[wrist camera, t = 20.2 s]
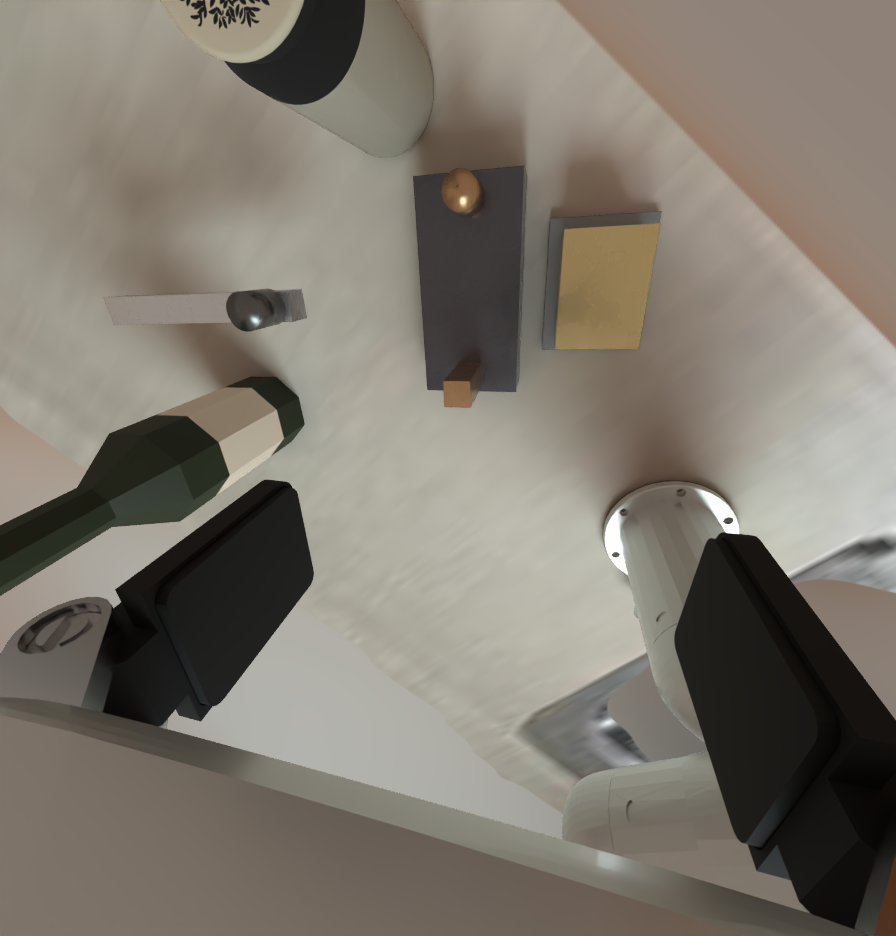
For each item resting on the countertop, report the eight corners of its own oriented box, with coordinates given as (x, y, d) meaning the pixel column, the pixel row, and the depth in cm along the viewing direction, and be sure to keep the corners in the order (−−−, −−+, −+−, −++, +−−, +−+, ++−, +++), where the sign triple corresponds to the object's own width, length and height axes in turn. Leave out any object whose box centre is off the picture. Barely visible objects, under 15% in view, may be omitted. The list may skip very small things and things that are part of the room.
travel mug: (424, 167, 32) (310, 84, 17) (333, 147, 33) (141, 49, 17) (444, 31, 28) (317, -246, 13) (339, 11, 29) (99, -274, 13)
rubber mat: (636, 347, 35) (638, 349, 34) (542, 347, 37) (542, 349, 36) (659, 212, 30) (661, 211, 30) (550, 219, 32) (550, 218, 31)
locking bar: (307, 320, 30) (267, 331, 26) (137, 323, 34) (77, 333, 29) (301, 286, 29) (258, 291, 25) (125, 292, 33) (61, 298, 28)
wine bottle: (318, 430, 46) (21, 652, 20) (266, 451, 49) (-49, 669, 23) (277, 362, 43) (-130, 520, 17) (225, 390, 46) (-187, 559, 20)
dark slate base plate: (518, 379, 38) (510, 415, 30) (437, 378, 40) (407, 411, 31) (526, 175, 31) (518, 144, 22) (427, 184, 33) (384, 159, 24)
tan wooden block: (627, 337, 34) (638, 349, 30) (554, 338, 35) (555, 349, 31) (644, 228, 30) (660, 223, 26) (562, 233, 32) (564, 229, 27)
